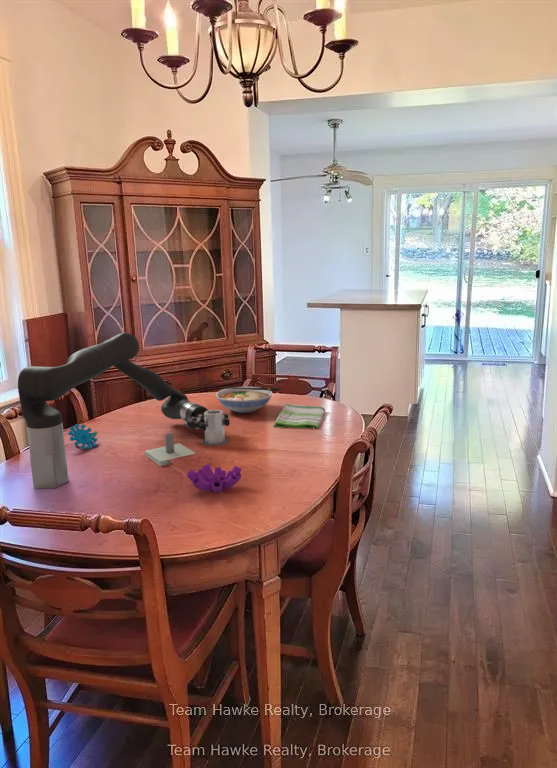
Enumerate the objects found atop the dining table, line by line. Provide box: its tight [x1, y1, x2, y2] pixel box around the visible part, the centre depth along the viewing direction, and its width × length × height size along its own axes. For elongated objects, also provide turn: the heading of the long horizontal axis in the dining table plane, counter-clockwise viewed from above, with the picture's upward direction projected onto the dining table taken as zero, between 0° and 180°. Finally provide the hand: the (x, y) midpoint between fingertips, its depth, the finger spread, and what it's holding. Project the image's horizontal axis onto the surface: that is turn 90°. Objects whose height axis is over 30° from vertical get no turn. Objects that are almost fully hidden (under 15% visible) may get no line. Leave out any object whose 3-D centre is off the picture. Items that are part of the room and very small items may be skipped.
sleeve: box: [204, 409, 226, 444], centre depth 192 cm, size 6×6×10 cm
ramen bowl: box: [215, 386, 280, 414], centre depth 233 cm, size 25×23×8 cm
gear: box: [67, 423, 99, 450], centre depth 194 cm, size 11×6×10 cm
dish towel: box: [273, 403, 326, 429], centre depth 221 cm, size 17×23×4 cm
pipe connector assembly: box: [186, 463, 243, 493], centre depth 156 cm, size 11×15×10 cm
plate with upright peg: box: [144, 432, 197, 467], centre depth 183 cm, size 12×12×8 cm
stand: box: [200, 437, 229, 447], centre depth 192 cm, size 9×9×8 cm
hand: (216, 425), depth 190 cm, fingers open, 8 cm apart
